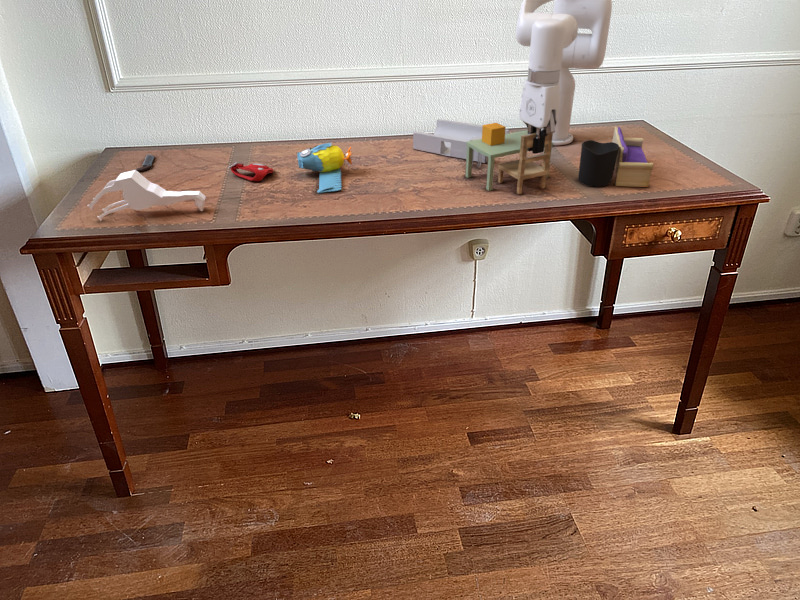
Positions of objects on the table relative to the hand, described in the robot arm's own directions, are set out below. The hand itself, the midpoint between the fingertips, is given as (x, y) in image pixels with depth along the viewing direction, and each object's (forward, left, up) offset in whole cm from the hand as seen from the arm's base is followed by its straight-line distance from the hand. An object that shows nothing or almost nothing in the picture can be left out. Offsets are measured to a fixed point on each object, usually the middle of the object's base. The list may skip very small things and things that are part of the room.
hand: (535, 151), depth 153 cm
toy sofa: (+3, +31, -11) cm, 33 cm away
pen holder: (+3, +19, -11) cm, 22 cm away
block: (-13, -4, -1) cm, 14 cm away
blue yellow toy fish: (-38, -43, -11) cm, 59 cm away
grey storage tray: (-36, -1, -11) cm, 38 cm away
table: (-11, 0, -11) cm, 16 cm away
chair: (-4, 0, -11) cm, 12 cm away
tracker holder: (-47, -62, -11) cm, 79 cm away
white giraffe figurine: (-34, -91, -11) cm, 98 cm away
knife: (-72, -88, -11) cm, 114 cm away
